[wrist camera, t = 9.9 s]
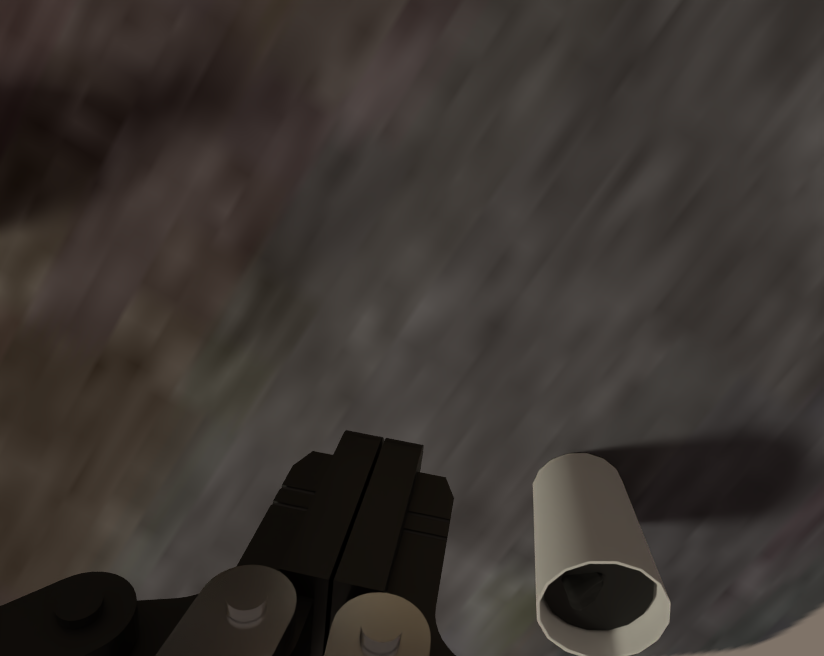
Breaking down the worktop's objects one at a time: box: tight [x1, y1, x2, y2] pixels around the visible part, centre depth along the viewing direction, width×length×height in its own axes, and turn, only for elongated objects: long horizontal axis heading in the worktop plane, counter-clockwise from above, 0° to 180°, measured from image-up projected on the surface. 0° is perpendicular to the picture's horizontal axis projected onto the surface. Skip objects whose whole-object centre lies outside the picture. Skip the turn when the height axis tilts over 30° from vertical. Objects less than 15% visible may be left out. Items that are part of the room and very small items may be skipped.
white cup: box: [533, 453, 670, 656], centre depth 37 cm, size 7×7×10 cm
